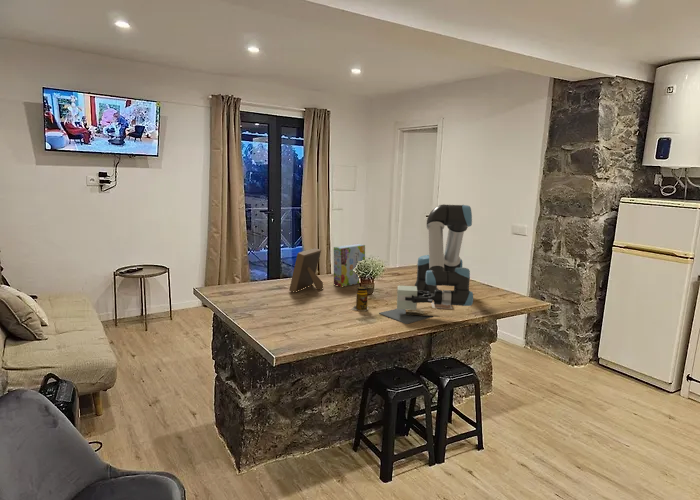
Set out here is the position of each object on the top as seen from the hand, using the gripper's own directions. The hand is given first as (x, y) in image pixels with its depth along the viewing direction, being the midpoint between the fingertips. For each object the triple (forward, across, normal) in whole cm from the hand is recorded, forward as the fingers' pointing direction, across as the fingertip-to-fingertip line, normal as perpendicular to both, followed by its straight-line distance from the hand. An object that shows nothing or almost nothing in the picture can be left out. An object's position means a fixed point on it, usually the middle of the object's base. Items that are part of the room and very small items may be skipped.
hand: (398, 295), depth 241 cm
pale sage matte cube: (-4, 0, -6) cm, 7 cm away
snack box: (+33, +62, -10) cm, 71 cm away
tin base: (-24, +17, -11) cm, 32 cm away
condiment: (+21, +8, -11) cm, 25 cm away
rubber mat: (-4, 0, -11) cm, 12 cm away
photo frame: (+56, +42, -11) cm, 71 cm away
